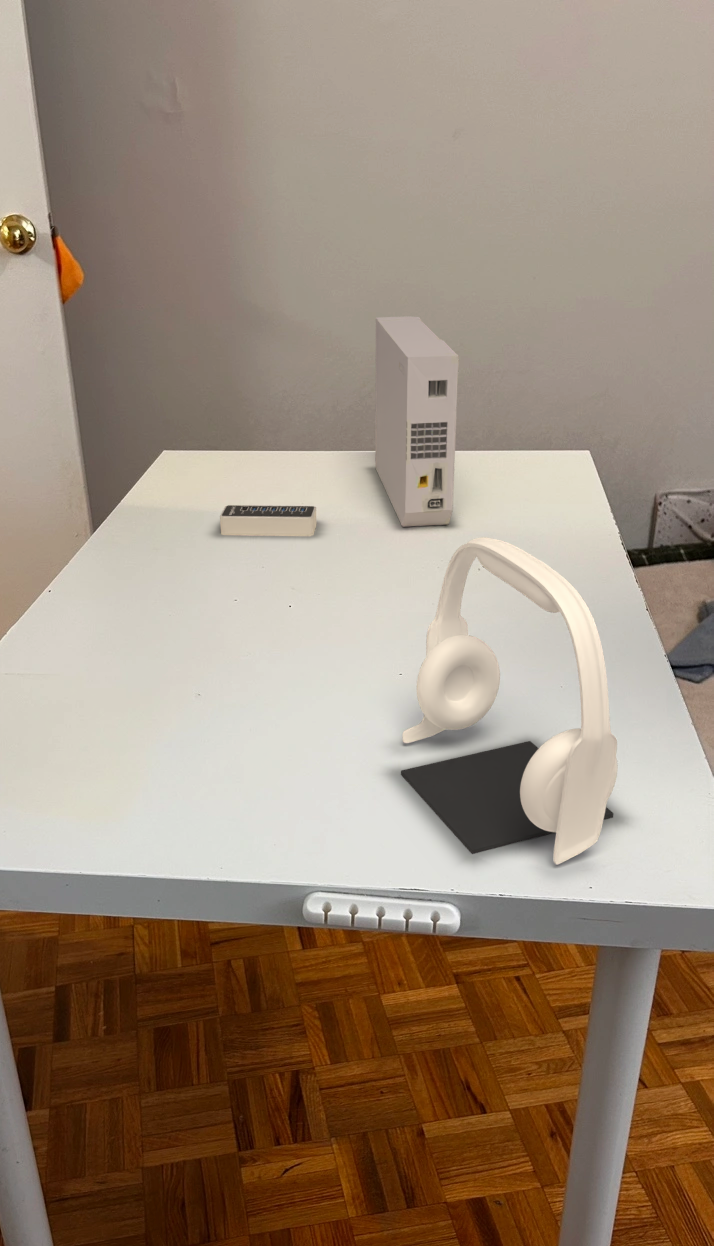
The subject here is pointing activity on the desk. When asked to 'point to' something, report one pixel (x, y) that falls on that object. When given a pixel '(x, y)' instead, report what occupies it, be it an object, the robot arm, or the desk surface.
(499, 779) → the desk mat
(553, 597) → the headset
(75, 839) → the desk surface
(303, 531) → the multiport hub
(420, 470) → the game console
